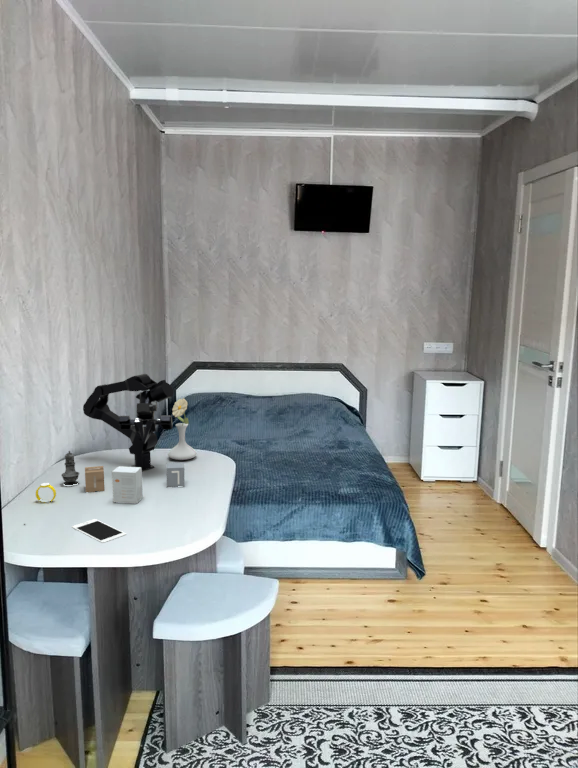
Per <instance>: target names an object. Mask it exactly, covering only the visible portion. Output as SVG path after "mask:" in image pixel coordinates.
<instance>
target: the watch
mask: <svg viewBox="0 0 578 768" xmlns="http://www.w3.org/2000/svg"><path fill="white" fill-rule="evenodd" d="M41 488H43V489H45V488H49V489H51V491H52V492H53V493H52V494H53V497H52V498H51V499H50V500H51V502H53V501H54V500H55V499H56V496H57V490H56V489H55V488H54V486H52V485H51V484H50V482H43V483H40V485H39V486H38V487H37V488H36V490H35V498H36V499H37V501H39V500H40V499H42V497H40V495H39V490H40V489H41Z"/></svg>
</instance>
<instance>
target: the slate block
mask: <svg viewBox="0 0 578 768" xmlns="http://www.w3.org/2000/svg"><path fill="white" fill-rule="evenodd" d="M165 470H166V488H167V487H172V488H179V487H178V486H186V485H185V462H166V469H165Z"/></svg>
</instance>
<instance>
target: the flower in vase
mask: <svg viewBox="0 0 578 768" xmlns="http://www.w3.org/2000/svg"><path fill="white" fill-rule="evenodd" d="M187 409H188V401H187V400H186V399H185V397H183V398H179V399H177V401H175V402H174V405H173V407H172V409H171V410H172V412H171V413H172V416H174V418H177V419H178V420H179V421H181V422H182V423H181V422H178V423H176V424H175V427H176V428H177V431H178V443H177V444H175V446H174V447H172V448H171V449H170V450H169V451H168V453H167V456H168V458H170V459H173V460H177V461H178V460H179V461H184V460H191V459H193V458H195V457H196V456H197V455H198V454H197V451H196V449H194V448H193V447H192V446H190V445H189V444H188V443H187V442H186V430H187V427H188V426H189V423H190V422H189V418H188V417H186V413H185V412H186V410H187ZM181 416H184V418H182V417H181Z"/></svg>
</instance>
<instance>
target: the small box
mask: <svg viewBox="0 0 578 768" xmlns="http://www.w3.org/2000/svg"><path fill="white" fill-rule="evenodd" d="M142 471H143V470H142V468H141V467H131V466H122V465H121V466H120V465H119V466H117V467H115V469H113V470H112V471H111V479H112V483H111V484H112V500H113V501H112V502H113V503H114V502H116V503H118V504H133V505H134V504H135V505H137V504H138V503H139V502H140V501H141V500H142V499H143V498H144V495H143V472H142Z"/></svg>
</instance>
